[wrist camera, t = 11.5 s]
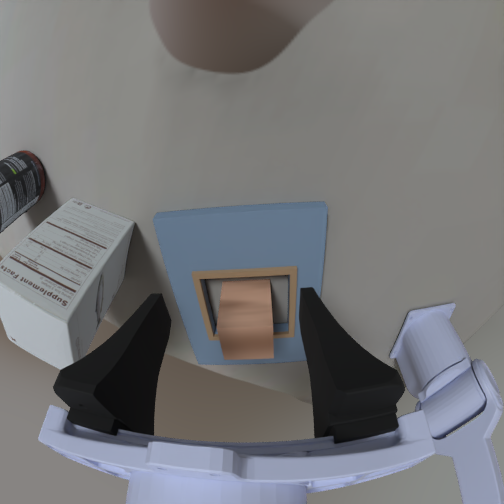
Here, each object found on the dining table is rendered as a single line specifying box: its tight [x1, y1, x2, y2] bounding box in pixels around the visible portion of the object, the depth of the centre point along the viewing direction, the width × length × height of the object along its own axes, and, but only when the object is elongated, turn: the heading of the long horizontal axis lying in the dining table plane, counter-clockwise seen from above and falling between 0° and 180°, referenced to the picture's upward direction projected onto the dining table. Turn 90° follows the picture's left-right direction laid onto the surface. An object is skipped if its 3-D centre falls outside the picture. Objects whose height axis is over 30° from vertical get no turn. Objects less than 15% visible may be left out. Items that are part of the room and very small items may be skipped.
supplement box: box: [0, 198, 135, 370], centre depth 19 cm, size 7×7×13 cm
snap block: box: [217, 279, 274, 360], centre depth 25 cm, size 4×4×6 cm
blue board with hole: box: [153, 202, 328, 365], centre depth 27 cm, size 20×14×2 cm
